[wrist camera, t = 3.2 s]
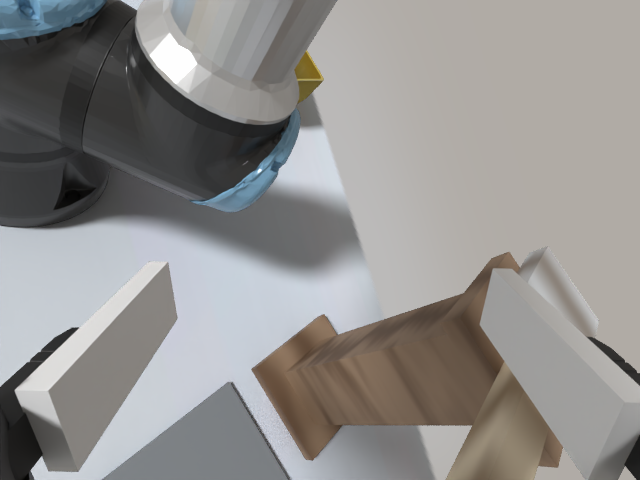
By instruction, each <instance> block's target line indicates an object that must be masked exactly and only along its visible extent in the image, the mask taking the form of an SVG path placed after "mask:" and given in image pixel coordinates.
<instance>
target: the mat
mask: <svg viewBox="0 0 640 480" xmlns="http://www.w3.org/2000/svg"><path fill="white" fill-rule="evenodd" d="M102 480H288V479H287V477H286V475H285V474H284V472H283V470H282V469H281V467H280V465H279V464H278V462H277V460H276V459H275V457H274V455H273V454H272V452H271V450H270V449H269V447H268V445H267V444H266V442H265V440H264V439H263V437H262V435H261V434H260V432H259V430H258V429H257V427H256V425H255V424H254V422H253V420H252V419H251V417H250V415H249V414H248V412H247V410H246V409H245V407H244V405H243V404H242V402H241V400H240V399H239V397H238V395H237V394H236V392H235V390H234V389H233V387H232V385H231V384H230V382H228V383H226V384H225V385H224V386H222V387H221V388H220V389H219V390H217V391H216V392H215V393H213V394H212V395H211V396H210V397H208V398H207V399H206V400H204V401H203V402H202V403H200V404H199V405H198V406H197V407H195V408H194V409H193V410H191V411H190V412H189V413H188V414H186V415H185V416H184V417H182V418H181V419H180V420H179V421H177V422H176V423H175V424H173V425H172V426H171V427H169V428H168V429H167V430H166V431H164V432H163V433H162V434H160V435H159V436H158V437H157V438H155V439H154V440H153V441H151V442H150V443H149V444H147V445H146V446H145V447H144V448H142V449H141V450H140V451H138V452H137V453H136V454H135V455H133V456H132V457H131V458H129V459H128V460H127V461H125V462H124V463H123V464H122V465H120V466H119V467H118V468H116V469H115V470H114V471H113V472H111V473H110V474H109V475H107V476H106V477H105V478H103V479H102Z"/></svg>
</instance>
